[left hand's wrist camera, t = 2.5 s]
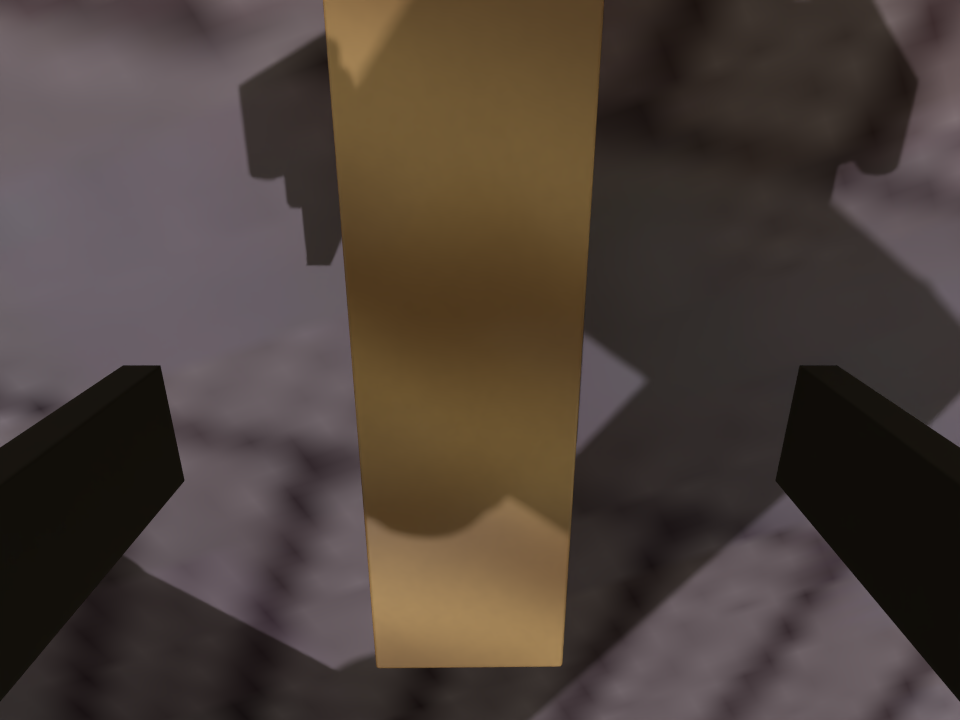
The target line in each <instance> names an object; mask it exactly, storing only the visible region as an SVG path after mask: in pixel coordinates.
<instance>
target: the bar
mask: <svg viewBox="0 0 960 720" xmlns="http://www.w3.org/2000/svg"><path fill="white" fill-rule="evenodd" d="M323 6H324V19H325V31H326V44H327V56H328V69H329V81H330V94H331V106H332V119H333V131H334V144H335V156H336V169H337V181H338V194H339V206H340V219H341V231H342V244H343V256H344V269H345V281H346V294H347V306H348V319H349V331H350V344H351V356H352V369H353V382H354V394H355V407H356V419H357V432H358V444H359V457H360V469H361V482H362V494H363V507H364V519H365V532H366V544H367V557H368V569H369V582H370V594H371V607H372V619H373V632H374V644H375V657H376V666H377V668H446V667H548V666H561V665H562V661H563V645H564V629H565V613H566V598H567V582H568V566H569V550H570V534H571V518H572V503H573V487H574V471H575V455H576V439H577V424H578V408H579V392H580V376H581V360H582V344H583V329H584V313H585V297H586V281H587V265H588V249H589V234H590V218H591V202H592V186H593V170H594V154H595V139H596V123H597V107H598V91H599V75H600V60H601V44H602V28H603V12H604V0H323Z"/></svg>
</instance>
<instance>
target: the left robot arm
mask: <svg viewBox="0 0 960 720" xmlns="http://www.w3.org/2000/svg"><path fill="white" fill-rule="evenodd" d="M183 482H184V476H183V471H182V466H181V462H180V457H179V452H178V447H177V443H176V438H175V433H174V428H173V424H172V419H171V414H170V409H169V404H168V400H167V395H166V390H165V385H164V381H163V376H162V371H161V366H122V367H120V368H119V369H117V370H116V371H114V372H113V373H111V374H110V375H108V376H107V377H105V378H104V379H102V380H101V381H99V382H98V383H96V384H95V385H93V386H92V387H90V388H89V389H87V390H86V391H84V392H83V393H81V394H80V395H78V396H77V397H75V398H74V399H72V400H71V401H69V402H68V403H66V404H65V405H63V406H62V407H60V408H59V409H57V410H56V411H54V412H53V413H51V414H50V415H48V416H47V417H45V418H44V419H42V420H41V421H39V422H38V423H36V424H35V425H33V426H32V427H30V428H29V429H27V430H26V431H24V432H23V433H21V434H20V435H18V436H17V437H15V438H14V439H12V440H11V441H9V442H8V443H6V444H5V445H3V446H2V447H0V701H1V700H2V699H3V698H4V696H5V695H6V694H7V693H8V692H9V690H10V689H11V688H12V687H13V686H14V684H15V683H16V682H17V681H18V680H19V678H20V677H21V676H22V675H23V674H24V672H25V671H26V670H27V669H28V668H29V666H30V665H31V664H32V663H33V662H34V660H35V659H36V658H37V657H38V656H39V654H40V653H41V652H42V651H43V650H44V648H45V647H46V646H47V645H48V644H49V642H50V641H51V640H52V639H53V638H54V636H55V635H56V634H57V633H58V632H59V630H60V629H61V628H62V627H63V626H64V624H65V623H66V622H67V621H68V620H69V618H70V617H71V616H72V615H73V614H74V612H75V611H76V610H77V609H78V608H79V606H80V605H81V604H82V603H83V602H84V601H85V599H86V598H87V597H88V596H89V595H90V593H91V592H92V591H93V590H94V589H95V587H96V586H97V585H98V584H99V583H100V581H101V580H102V579H103V578H104V577H105V575H106V574H107V573H108V572H109V571H110V569H111V568H112V567H113V566H114V565H115V563H116V562H117V561H118V560H119V559H120V557H121V556H122V555H123V554H124V553H125V551H126V550H127V549H128V548H129V547H130V545H131V544H132V543H133V542H134V541H135V539H136V538H137V537H138V536H139V535H140V533H141V532H142V531H143V530H144V529H145V527H146V526H147V525H148V524H149V523H150V521H151V520H152V519H153V518H154V517H155V515H156V514H157V513H158V512H159V511H160V509H161V508H162V507H163V506H164V505H165V503H166V502H167V501H168V500H169V499H170V498H171V496H172V495H173V494H174V493H175V492H176V490H177V489H178V488H179V487H180V486H181V484H182V483H183ZM776 482H777V483H778V484H779V486H780V487H781V488H782V489H783V490H784V492H785V493H786V494H787V495H788V496H789V498H790V499H791V500H792V501H793V502H794V504H795V505H796V506H797V507H798V508H799V509H800V511H801V512H802V513H803V514H804V515H805V517H806V518H807V519H808V520H809V521H810V523H811V524H812V525H813V526H814V527H815V529H816V530H817V531H818V532H819V533H820V535H821V536H822V537H823V538H824V539H825V541H826V542H827V543H828V544H829V545H830V547H831V548H832V549H833V550H834V551H835V553H836V554H837V555H838V556H839V557H840V559H841V560H842V561H843V562H844V563H845V565H846V566H847V567H848V568H849V569H850V571H851V572H852V573H853V574H854V575H855V577H856V578H857V579H858V580H859V581H860V583H861V584H862V585H863V586H864V587H865V589H866V590H867V591H868V592H869V593H870V595H871V596H872V597H873V598H874V599H875V601H876V602H877V603H878V604H879V605H880V606H881V608H882V609H883V610H884V611H885V612H886V614H887V615H888V616H889V617H890V618H891V620H892V621H893V622H894V623H895V624H896V626H897V627H898V628H899V629H900V630H901V632H902V633H903V634H904V635H905V636H906V638H907V639H908V640H909V641H910V642H911V644H912V645H913V646H914V647H915V648H916V650H917V651H918V652H919V653H920V654H921V656H922V657H923V658H924V659H925V660H926V662H927V663H928V664H929V665H930V666H931V668H932V669H933V670H934V671H935V672H936V674H937V675H938V676H939V677H940V678H941V680H942V681H943V682H944V683H945V684H946V686H947V687H948V688H949V689H950V690H951V692H952V693H953V694H954V695H955V696H956V698H957V699H958V700H959V701H960V447H958V446H957V445H955V444H954V443H952V442H951V441H949V440H948V439H946V438H945V437H943V436H942V435H940V434H939V433H937V432H936V431H934V430H933V429H931V428H930V427H928V426H927V425H925V424H924V423H922V422H921V421H919V420H918V419H916V418H915V417H913V416H912V415H910V414H909V413H907V412H906V411H904V410H903V409H901V408H900V407H898V406H897V405H895V404H894V403H892V402H891V401H889V400H888V399H886V398H885V397H883V396H882V395H880V394H879V393H877V392H876V391H874V390H873V389H871V388H870V387H868V386H867V385H865V384H864V383H862V382H861V381H859V380H858V379H856V378H855V377H853V376H852V375H850V374H849V373H847V372H846V371H844V370H843V369H841V368H840V367H838V366H799V371H798V376H797V381H796V385H795V390H794V395H793V400H792V404H791V409H790V414H789V419H788V424H787V428H786V433H785V438H784V443H783V447H782V452H781V457H780V462H779V466H778V471H777V476H776Z"/></svg>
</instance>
